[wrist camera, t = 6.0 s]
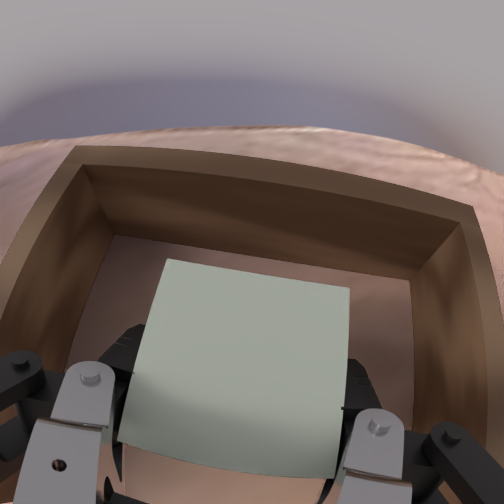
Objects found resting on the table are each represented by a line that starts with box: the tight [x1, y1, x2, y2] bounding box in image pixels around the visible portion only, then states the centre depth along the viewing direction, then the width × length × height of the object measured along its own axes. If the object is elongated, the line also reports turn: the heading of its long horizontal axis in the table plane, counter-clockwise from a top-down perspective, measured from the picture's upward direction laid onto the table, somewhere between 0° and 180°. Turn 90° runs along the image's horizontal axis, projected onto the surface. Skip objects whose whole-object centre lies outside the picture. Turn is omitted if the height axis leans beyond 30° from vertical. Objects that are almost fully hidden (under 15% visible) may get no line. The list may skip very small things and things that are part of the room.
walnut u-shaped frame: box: [0, 146, 504, 504], centre depth 11 cm, size 19×22×6 cm
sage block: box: [117, 258, 350, 478], centre depth 10 cm, size 5×5×8 cm
